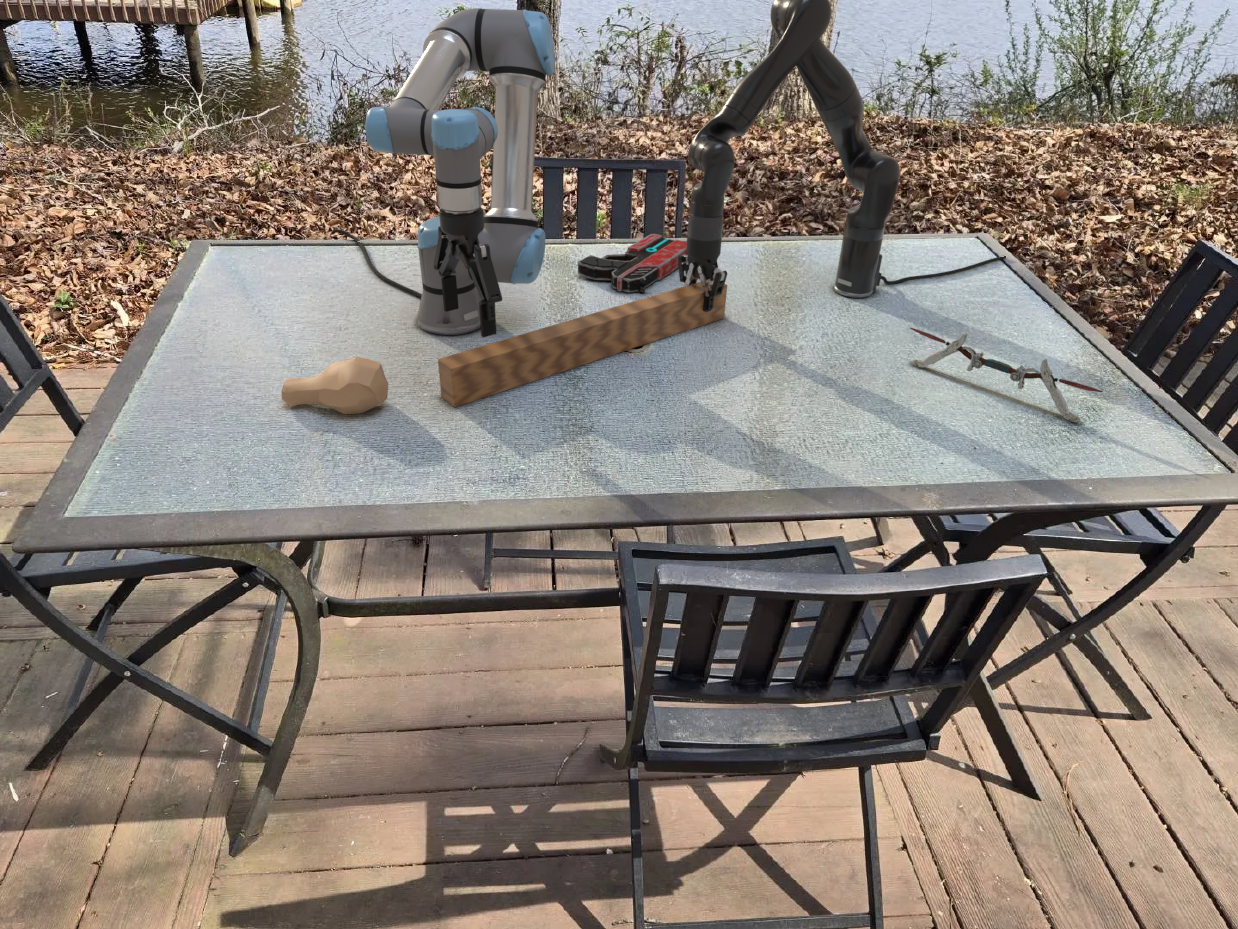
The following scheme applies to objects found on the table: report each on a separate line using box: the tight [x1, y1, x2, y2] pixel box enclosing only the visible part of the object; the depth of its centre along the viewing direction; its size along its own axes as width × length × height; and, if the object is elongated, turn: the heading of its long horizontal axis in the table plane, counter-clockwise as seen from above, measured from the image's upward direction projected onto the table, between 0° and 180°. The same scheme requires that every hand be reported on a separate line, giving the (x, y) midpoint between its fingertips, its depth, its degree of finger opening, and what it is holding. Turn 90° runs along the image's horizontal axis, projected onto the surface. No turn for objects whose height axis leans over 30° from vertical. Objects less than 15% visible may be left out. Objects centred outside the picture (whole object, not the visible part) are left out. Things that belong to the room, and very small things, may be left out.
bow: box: [909, 326, 1104, 423], centre depth 173 cm, size 39×2×10 cm, turn 47°
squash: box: [281, 356, 389, 415], centre depth 163 cm, size 11×20×9 cm, turn 90°
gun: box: [577, 233, 687, 294], centre depth 225 cm, size 4×31×19 cm
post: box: [437, 279, 728, 408], centre depth 183 cm, size 70×5×8 cm, turn 128°
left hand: (469, 322), depth 162 cm, fingers open, 13 cm apart
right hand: (698, 306), depth 199 cm, fingers closed on post, 5 cm apart
